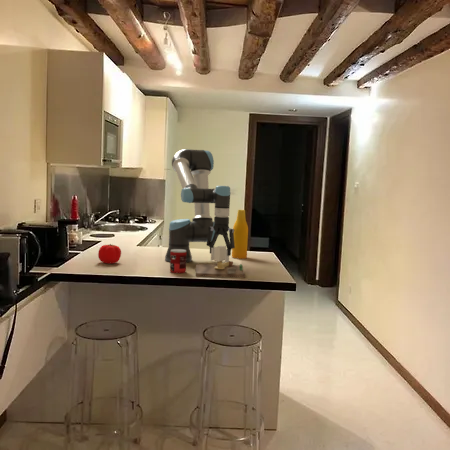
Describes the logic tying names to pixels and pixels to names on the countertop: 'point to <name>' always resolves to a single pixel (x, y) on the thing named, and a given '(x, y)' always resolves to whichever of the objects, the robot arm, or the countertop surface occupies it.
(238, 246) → the beer bottle
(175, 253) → the canned food
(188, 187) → the robot arm
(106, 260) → the tomato
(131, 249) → the countertop surface
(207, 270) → the gauge plate
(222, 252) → the tuning peg
